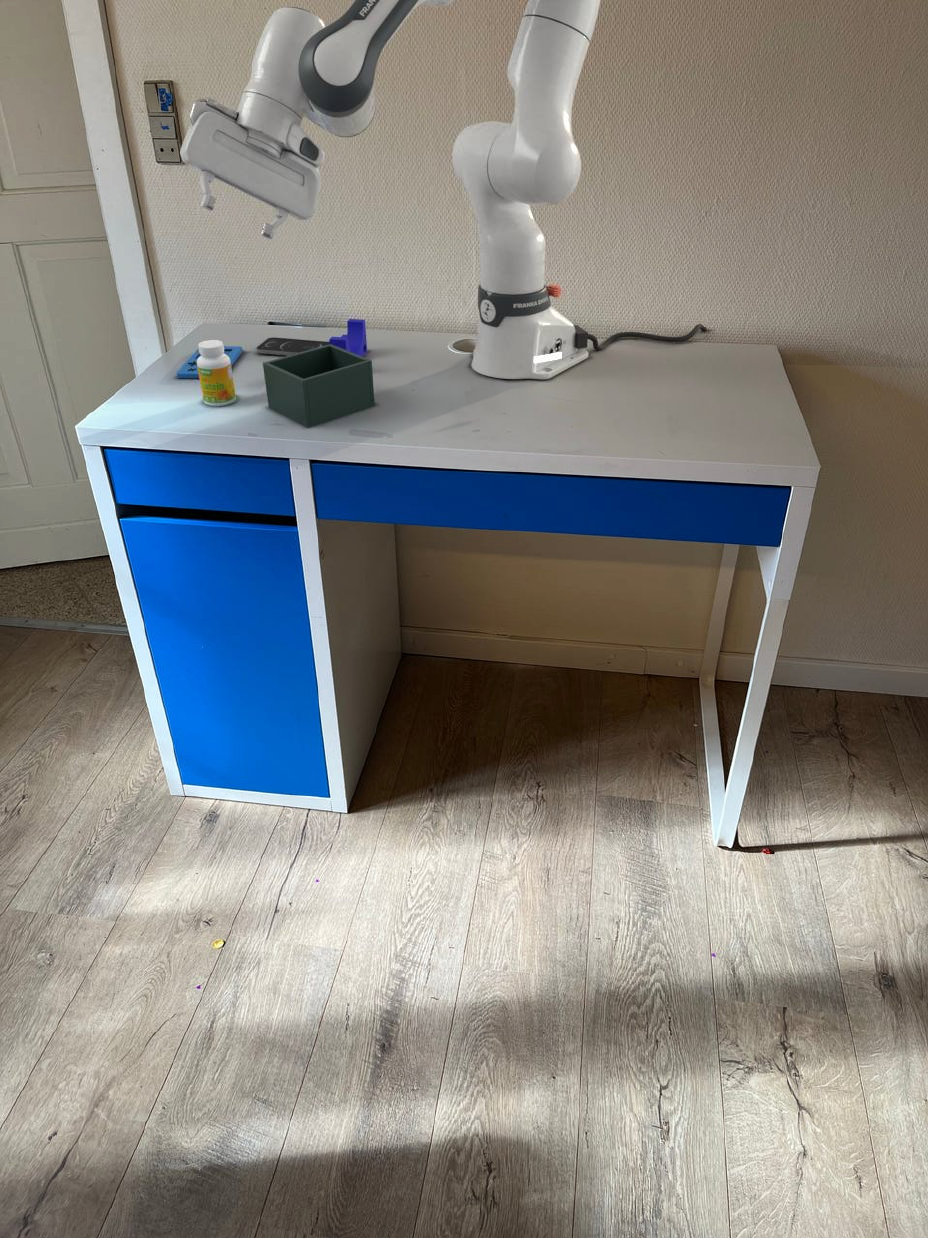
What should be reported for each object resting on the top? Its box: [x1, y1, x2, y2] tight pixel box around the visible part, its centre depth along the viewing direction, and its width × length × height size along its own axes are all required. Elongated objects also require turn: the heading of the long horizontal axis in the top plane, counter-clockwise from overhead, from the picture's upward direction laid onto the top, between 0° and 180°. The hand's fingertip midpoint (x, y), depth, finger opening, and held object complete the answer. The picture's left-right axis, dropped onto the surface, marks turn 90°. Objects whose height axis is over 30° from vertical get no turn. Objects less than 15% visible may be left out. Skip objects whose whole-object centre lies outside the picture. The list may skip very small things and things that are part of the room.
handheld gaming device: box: [176, 345, 244, 379], centre depth 171 cm, size 8×1×15 cm
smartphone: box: [255, 336, 330, 356], centre depth 177 cm, size 8×1×15 cm
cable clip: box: [328, 318, 368, 357], centre depth 171 cm, size 12×4×6 cm, turn 168°
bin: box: [262, 344, 376, 428], centre depth 152 cm, size 13×11×8 cm
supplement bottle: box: [197, 339, 237, 407], centre depth 154 cm, size 5×5×10 cm
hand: (236, 223), depth 137 cm, fingers open, 8 cm apart
